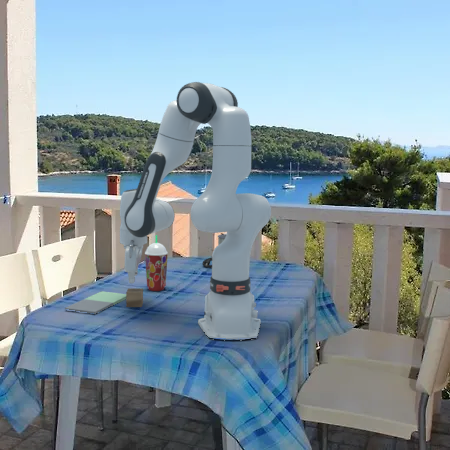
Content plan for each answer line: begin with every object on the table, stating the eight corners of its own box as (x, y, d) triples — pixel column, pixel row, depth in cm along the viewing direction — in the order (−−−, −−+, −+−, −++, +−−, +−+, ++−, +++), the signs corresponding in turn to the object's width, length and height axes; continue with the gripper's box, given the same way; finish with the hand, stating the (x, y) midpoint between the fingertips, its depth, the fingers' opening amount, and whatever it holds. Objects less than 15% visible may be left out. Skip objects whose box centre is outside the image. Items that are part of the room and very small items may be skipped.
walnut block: (141, 307, 188) (141, 292, 187) (126, 307, 188) (126, 292, 187) (143, 302, 193) (143, 288, 192) (128, 303, 193) (127, 288, 192)
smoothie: (172, 289, 211) (172, 235, 208) (154, 293, 205) (154, 238, 202) (157, 285, 216) (157, 232, 213) (140, 289, 210) (139, 235, 207)
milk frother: (238, 273, 239) (239, 237, 236) (200, 272, 239) (201, 237, 237) (238, 265, 253) (239, 232, 250) (203, 264, 253) (203, 231, 251)
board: (95, 315, 178) (95, 311, 178) (65, 311, 182) (64, 308, 182) (129, 297, 199) (129, 294, 199) (101, 294, 203) (101, 291, 202)
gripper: (140, 244, 177) (140, 287, 180) (145, 232, 197) (145, 271, 200) (119, 244, 177) (119, 287, 179) (127, 231, 197) (126, 271, 199)
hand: (133, 278), depth 190 cm, fingers open, 8 cm apart
